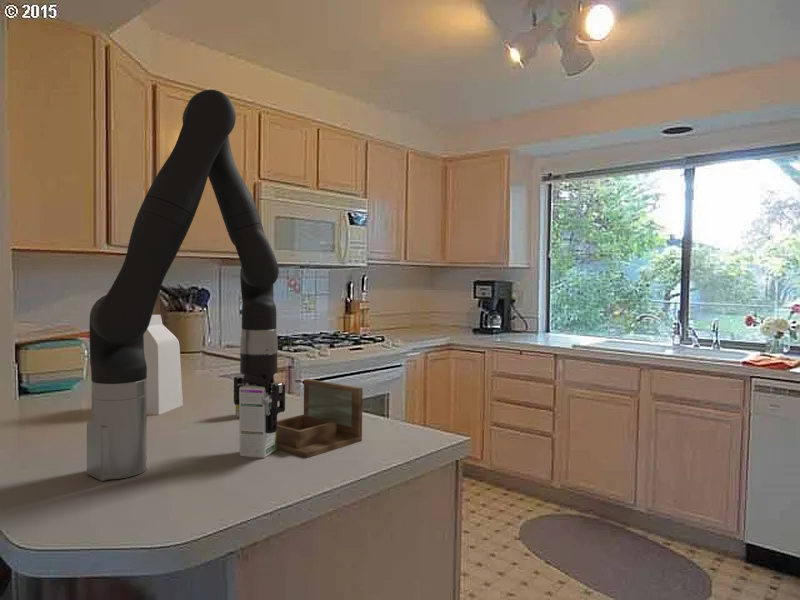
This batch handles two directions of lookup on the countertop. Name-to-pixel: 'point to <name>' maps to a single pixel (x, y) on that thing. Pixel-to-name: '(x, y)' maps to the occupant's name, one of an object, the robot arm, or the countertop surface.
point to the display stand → (323, 420)
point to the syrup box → (254, 423)
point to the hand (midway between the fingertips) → (258, 429)
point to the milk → (162, 368)
